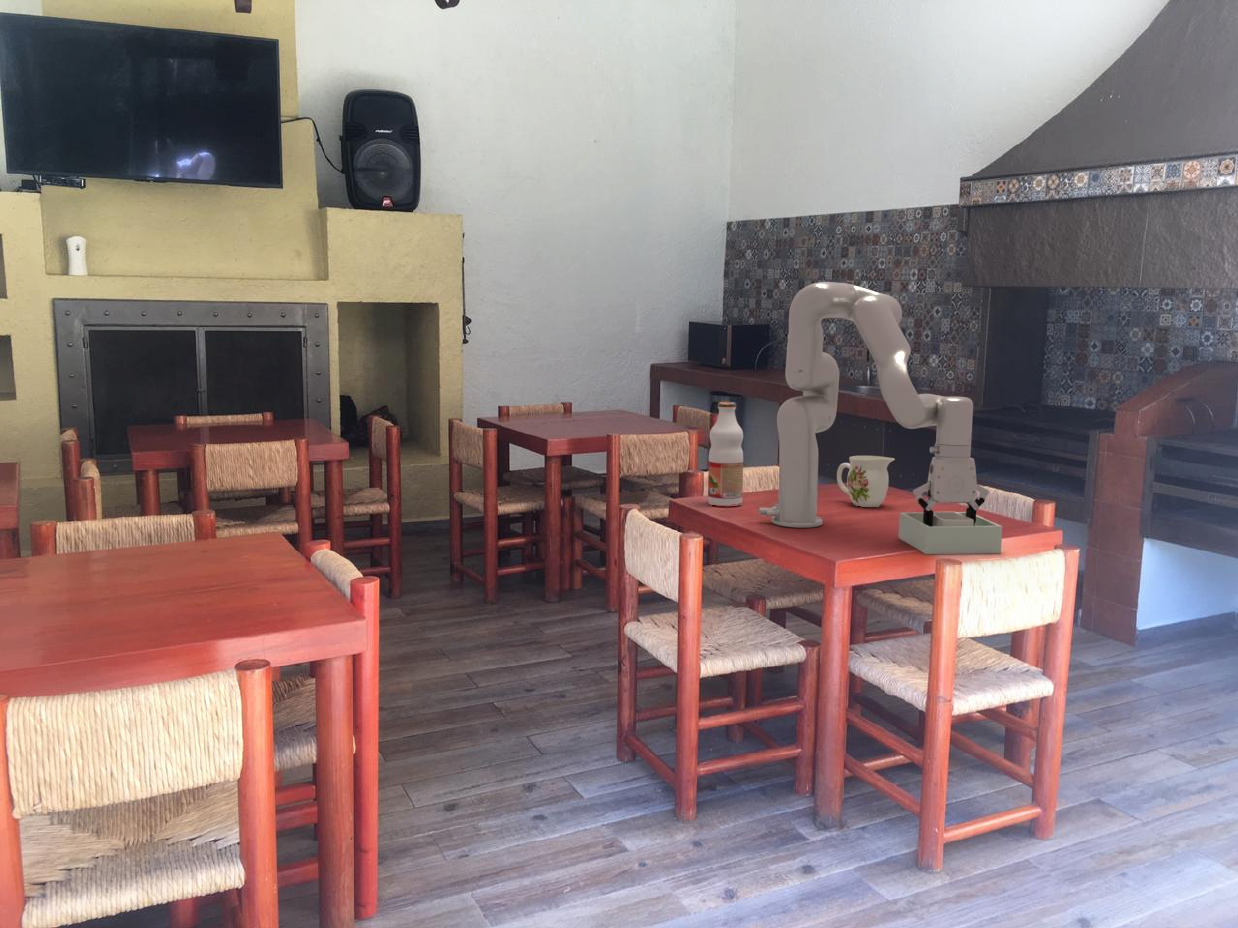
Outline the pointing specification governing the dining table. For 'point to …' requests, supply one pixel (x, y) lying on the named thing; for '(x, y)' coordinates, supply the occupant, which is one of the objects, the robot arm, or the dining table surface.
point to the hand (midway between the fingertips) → (949, 526)
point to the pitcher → (866, 479)
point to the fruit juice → (725, 458)
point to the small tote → (951, 519)
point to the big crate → (950, 536)
